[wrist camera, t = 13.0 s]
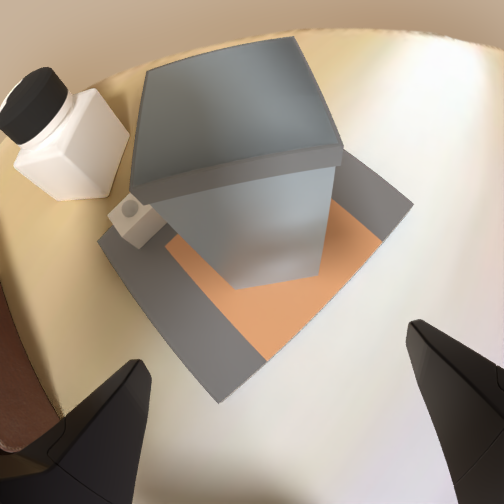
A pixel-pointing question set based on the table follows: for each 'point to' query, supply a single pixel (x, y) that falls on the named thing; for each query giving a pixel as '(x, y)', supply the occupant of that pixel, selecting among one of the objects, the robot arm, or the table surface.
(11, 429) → the letter holder
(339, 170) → the board
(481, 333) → the table surface
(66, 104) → the medicine bottle
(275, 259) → the cap
